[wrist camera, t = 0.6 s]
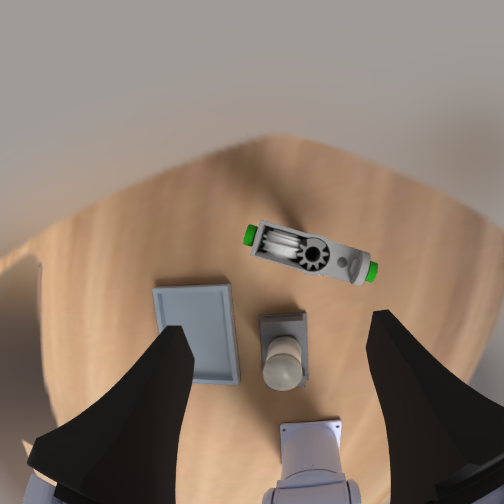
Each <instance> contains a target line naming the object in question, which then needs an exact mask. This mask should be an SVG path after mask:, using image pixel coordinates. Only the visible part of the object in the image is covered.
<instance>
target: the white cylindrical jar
mask: <svg viewBox="0 0 504 504" xmlns="http://www.w3.org/2000/svg"><path fill="white" fill-rule="evenodd" d="M301 378H302V366H301V346H300V343H299V342H298V341H297V340H296V339H295V338H294V337H292V336H289V335H281V336H278V337H276V338H274V339H273V340H272V341H271V342H270V344H269V347H268V354H267V358H266V363H265V365H264V369H263V379H264V381H265V383H266V384H267V385H268V386H269V387H271V388H272V389H275V390H279V391H286V390H290V389H292V388H294V387H296V386H297V385H298V384H299V382H300V381H301Z"/></svg>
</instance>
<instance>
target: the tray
mask: <svg viewBox="0 0 504 504" xmlns="http://www.w3.org/2000/svg"><path fill="white" fill-rule="evenodd" d="M152 290H153V298H154V305H155V312H156V318H157V324H158V330H159V334H160V333H161V332H162V331H163V330H164V328H165V327H166V326H167V325H181V326H182V328H183V331H184V333H185V336H186V338H187V341H188V343H189V346H190V348H191V350H192V353H193V355H194V358H195V364H194V373H193V381H192V383H198V384H217V385H239V382H240V380H241V378H240V369H239V360H238V351H237V342H236V333H235V323H234V314H233V304H232V293H231V283H226V284H205V285H182V286H158V287H155V288H153V289H152Z"/></svg>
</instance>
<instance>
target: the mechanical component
mask: <svg viewBox="0 0 504 504" xmlns="http://www.w3.org/2000/svg"><path fill="white" fill-rule="evenodd" d="M243 244H245V245H248V246H251V247H252V246H253V247H252V250H251V254H250V255H251V256H254V257H258V258H261V259H264V260H268V261H271V262H274V263H278V264H281V265H284V266H288V267H291V268H294V269H298V270H300V271H301V272H303V273H305V274H307V275H323V276H325V275H326V276H330V277H333V278H336V279H340V280H343V281H346V282H350V283H351V284H354V285H357V286H361V285H362V283H363V282H364V281H368V282H373V281H374V279H375V277H376V274H377V270H378V264H377V263H375V262H372V261H370V253H368V252H365V251H361V250H358V249H355V248H352V247H349V246H346V245H342V244H339V243H336V242H333V241H330V240H327V239H326V238H325V237H323V236H321V235H318V234H308V233H305V232H301V231H298V230H295V229H291V228H288V227H284V226H281V225H277V224H274V223H271V222H267V221H264V220H260V222H259V226H258V227H257V226H254V225H250V224H249V225H248V227H247V230H246V233H245V237H244V242H243Z"/></svg>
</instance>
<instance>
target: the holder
mask: <svg viewBox="0 0 504 504" xmlns="http://www.w3.org/2000/svg"><path fill="white" fill-rule="evenodd" d="M259 324H260V336H261V348H262V360H263V369H264V365H265V363H266V358H267V354H268V347H269V344H270V342H271V341H272V340H273V339H274V338H276V337H278V336H281V335H289V336H292V337H294V338H295V339H296V340H297V341H298V342H299V343H300V346H301V366H302V378H301V381H300V382H299V384H298V385H297V386H296V387H305V380H308V342H307V314H306V313H292V314H275V315H259ZM264 382H265V381H264ZM266 388H271V387H269V386H268V385H267V384H266Z"/></svg>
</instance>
